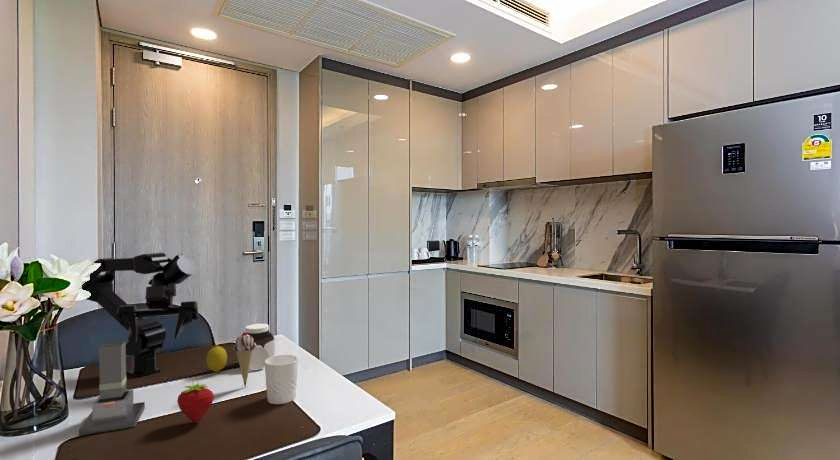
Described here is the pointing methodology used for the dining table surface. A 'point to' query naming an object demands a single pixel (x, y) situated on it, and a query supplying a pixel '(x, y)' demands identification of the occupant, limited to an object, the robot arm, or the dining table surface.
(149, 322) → the robot arm
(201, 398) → the strawberry
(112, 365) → the jack column
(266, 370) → the white cup
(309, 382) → the dining table surface
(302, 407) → the dining table surface
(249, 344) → the ice cream cone
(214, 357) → the lemon
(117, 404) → the jack stand base
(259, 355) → the spread jar
